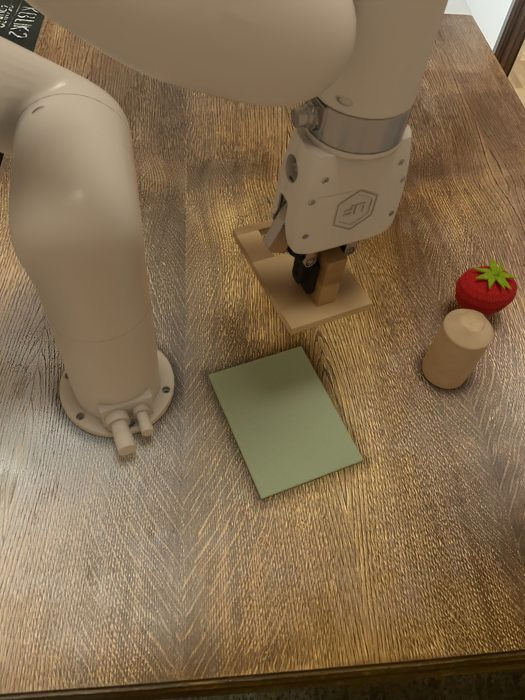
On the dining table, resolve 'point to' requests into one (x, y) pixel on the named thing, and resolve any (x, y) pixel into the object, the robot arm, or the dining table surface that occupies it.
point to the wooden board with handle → (289, 297)
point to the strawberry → (486, 289)
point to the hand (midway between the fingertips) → (315, 278)
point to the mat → (283, 421)
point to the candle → (457, 348)
